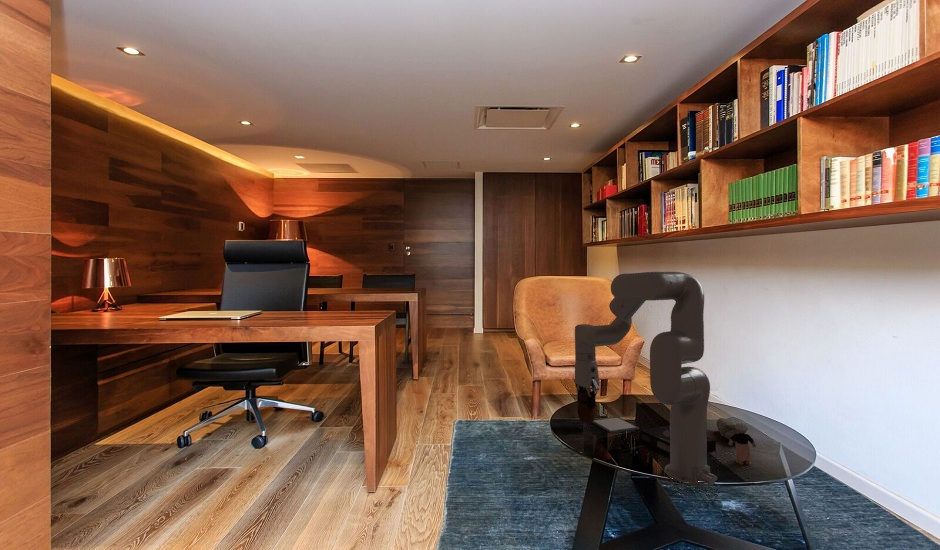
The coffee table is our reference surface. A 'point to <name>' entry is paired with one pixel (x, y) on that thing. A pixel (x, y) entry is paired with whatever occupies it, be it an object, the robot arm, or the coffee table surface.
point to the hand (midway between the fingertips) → (586, 403)
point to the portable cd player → (666, 439)
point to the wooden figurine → (585, 408)
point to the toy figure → (742, 443)
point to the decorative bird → (726, 428)
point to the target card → (614, 425)
